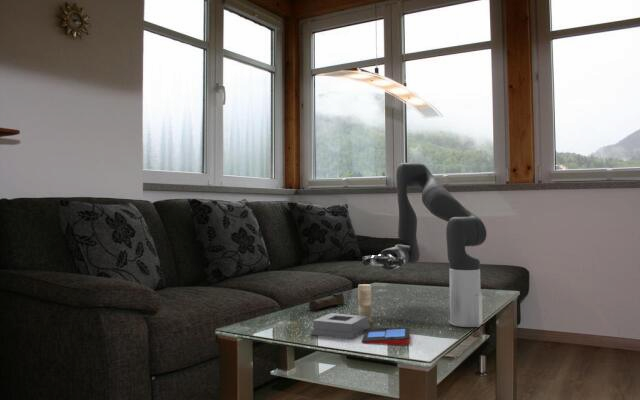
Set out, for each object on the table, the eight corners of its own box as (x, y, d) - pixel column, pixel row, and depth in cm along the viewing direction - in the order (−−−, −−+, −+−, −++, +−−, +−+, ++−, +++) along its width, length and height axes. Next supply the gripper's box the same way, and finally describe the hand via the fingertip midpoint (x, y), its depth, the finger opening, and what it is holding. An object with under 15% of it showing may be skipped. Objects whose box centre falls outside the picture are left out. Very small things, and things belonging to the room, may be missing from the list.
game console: (366, 332, 154) (366, 325, 155) (409, 334, 152) (409, 326, 152) (361, 345, 140) (360, 336, 140) (409, 347, 138) (409, 338, 138)
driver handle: (373, 322, 166) (372, 284, 166) (368, 325, 163) (368, 286, 163) (361, 321, 168) (361, 283, 168) (356, 323, 164) (356, 285, 165)
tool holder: (369, 329, 157) (369, 315, 157) (352, 339, 145) (352, 324, 145) (330, 325, 162) (330, 312, 162) (311, 334, 151) (310, 320, 151)
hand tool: (316, 312, 185) (316, 299, 186) (308, 310, 188) (308, 297, 188) (349, 304, 200) (349, 292, 200) (341, 303, 202) (341, 291, 202)
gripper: (373, 247, 193) (356, 250, 179) (411, 248, 187) (396, 252, 172) (373, 267, 193) (356, 272, 179) (411, 269, 187) (396, 275, 172)
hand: (376, 262), depth 176 cm, fingers open, 8 cm apart
